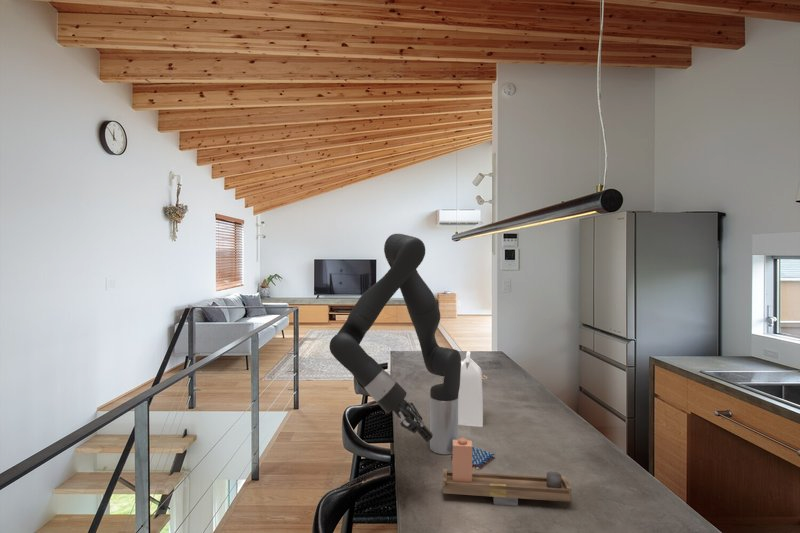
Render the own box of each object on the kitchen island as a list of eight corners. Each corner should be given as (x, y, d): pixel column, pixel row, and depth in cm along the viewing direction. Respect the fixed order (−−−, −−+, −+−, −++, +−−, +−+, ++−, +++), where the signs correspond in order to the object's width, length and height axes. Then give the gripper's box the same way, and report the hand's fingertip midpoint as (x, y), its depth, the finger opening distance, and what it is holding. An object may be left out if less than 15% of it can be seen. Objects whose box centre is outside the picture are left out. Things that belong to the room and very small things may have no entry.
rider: (452, 476, 114) (452, 435, 114) (471, 477, 114) (471, 436, 113) (452, 483, 111) (452, 441, 110) (472, 484, 110) (472, 442, 110)
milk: (482, 426, 158) (483, 357, 157) (451, 424, 160) (452, 355, 159) (483, 414, 169) (483, 350, 169) (454, 412, 172) (454, 348, 171)
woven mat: (466, 449, 140) (466, 443, 140) (495, 459, 133) (495, 453, 133) (449, 461, 132) (449, 454, 132) (479, 472, 125) (479, 465, 125)
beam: (443, 487, 116) (443, 462, 116) (564, 495, 112) (564, 469, 112) (442, 501, 110) (443, 474, 110) (571, 509, 106) (571, 482, 106)
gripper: (392, 388, 107) (440, 439, 106) (398, 374, 120) (440, 419, 119) (371, 408, 108) (418, 459, 106) (379, 392, 121) (421, 437, 120)
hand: (430, 438), depth 113 cm, fingers closed
